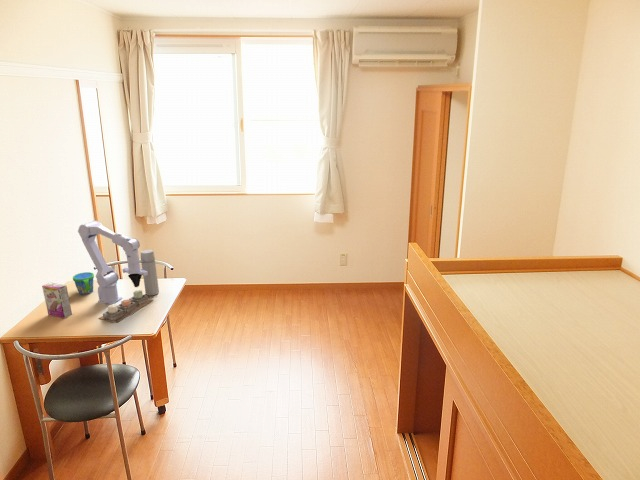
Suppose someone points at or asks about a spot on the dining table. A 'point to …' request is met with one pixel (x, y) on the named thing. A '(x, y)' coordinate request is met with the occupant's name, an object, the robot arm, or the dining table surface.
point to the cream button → (112, 309)
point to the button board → (126, 309)
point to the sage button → (138, 295)
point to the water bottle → (149, 272)
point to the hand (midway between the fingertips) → (137, 286)
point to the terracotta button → (126, 303)
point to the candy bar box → (57, 300)
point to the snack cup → (84, 282)
